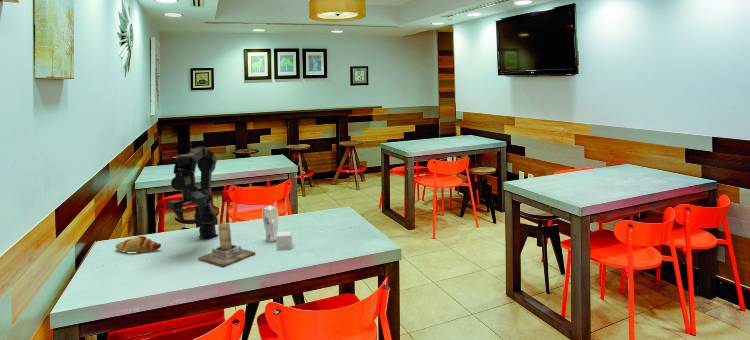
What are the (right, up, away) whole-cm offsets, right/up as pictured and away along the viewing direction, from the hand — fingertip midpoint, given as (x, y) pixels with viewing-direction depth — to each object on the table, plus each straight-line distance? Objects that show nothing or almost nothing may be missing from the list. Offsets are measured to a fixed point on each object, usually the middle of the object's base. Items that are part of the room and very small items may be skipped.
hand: (192, 220), depth 201 cm
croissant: (-25, -14, +4) cm, 29 cm away
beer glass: (+32, -10, +12) cm, 35 cm away
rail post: (+17, -13, -8) cm, 23 cm away
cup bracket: (+17, -14, -8) cm, 24 cm away
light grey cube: (+39, -12, +2) cm, 41 cm away
